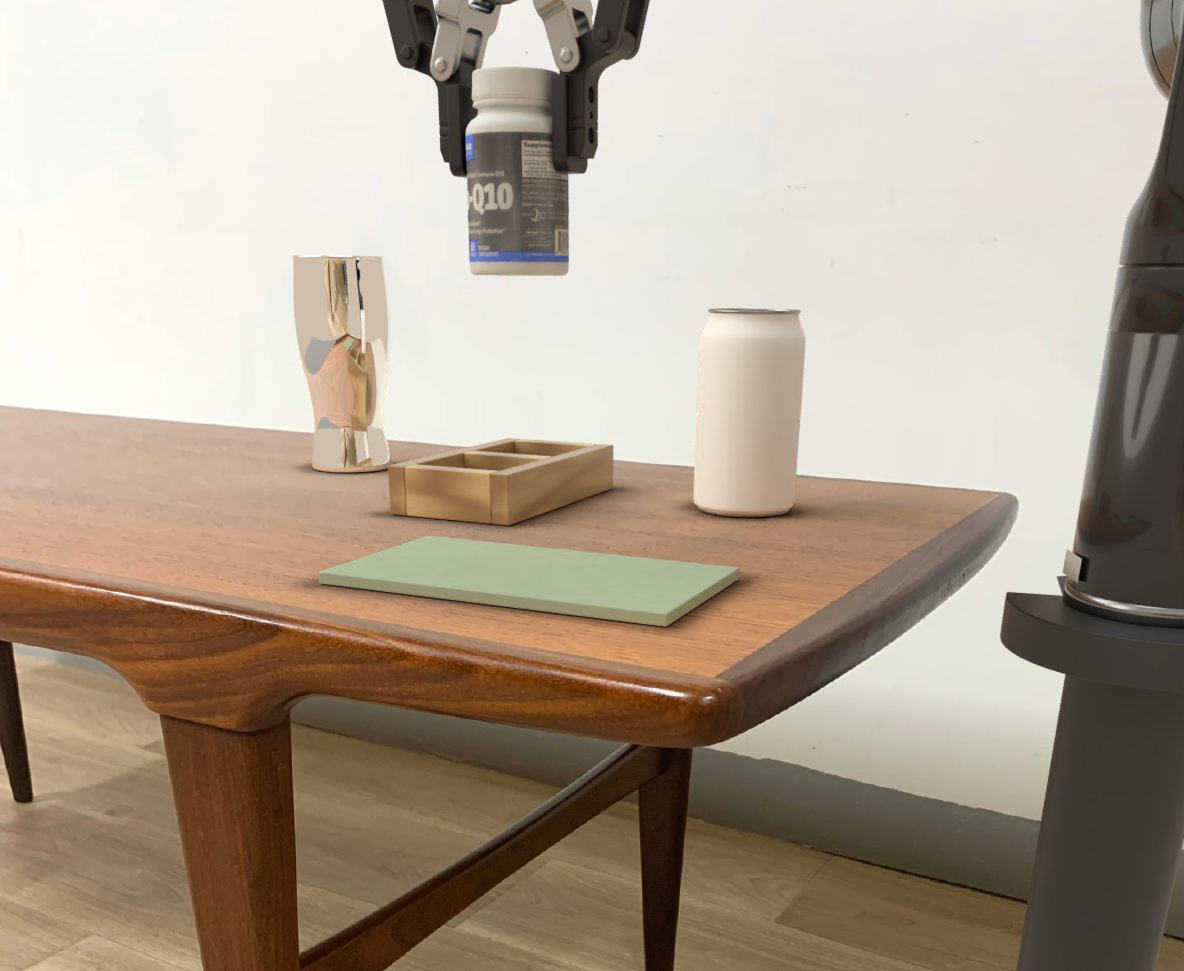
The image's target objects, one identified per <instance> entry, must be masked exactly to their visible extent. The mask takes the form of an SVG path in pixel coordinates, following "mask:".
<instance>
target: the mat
mask: <svg viewBox="0 0 1184 971" xmlns="http://www.w3.org/2000/svg"><path fill="white" fill-rule="evenodd" d="M740 573H741V568H740V567H738V566H728V565H720V564H719V565H717V564H708V563H699V562H691V561H690V562H688V561H679V560H669V559H660V558H652V557H640V556H630V555H621V554H613V553H611V554H610V553H602V552H591V551H582V550H571V549H564V548H553V547H544V546H536V545H535V546H533V545H523V544H513V543H505V542H494V541H487V540H486V541H484V540H477V539H476V540H475V539H468V538H467V539H465V538H458V537H457V538H455V537H446V536H437V535H425V536H422V537H419V538H417V539H414V540H413V539H412V540H410V541H408V542H405V543H401V544H399V545H396V546H393V547H390V548H386V549H383V550H380V551H378V552H374V553H371V554H368V555H365V556H362V557H360V558H359V557H358V558H356V559H353V560H351V561H350V560H349V561H348V562H345V563H342V564H338V565H335V566H332V567H328V568H326V569H322V570H320V571H319V572H318V580H319V581H318V582H319V584H320V585H328V586H335V587H344V588H352V589H353V588H354V589H360V590H361V589H362V590H369V591H377V592H384V593H393V594H401V595H409V596H416V597H424V598H433V599H441V600H448V601H457V602H463V603H464V602H465V603H472V604H480V605H489V606H497V607H505V608H511V609H512V608H513V609H521V610H529V611H536V612H537V611H538V612H545V613H552V614H553V613H554V614H561V615H567V616H577V617H584V618H585V617H586V618H591V619H592V618H593V619H599V620H608V621H609V620H610V621H617V622H624V623H633V624H640V625H641V624H642V625H649V626H657V627H665V628H666V627H668V626H669V625H671V624H673V623H675V621H677V620H679V619H680V618H682V617H684V616H685V615H686V614H688V613H690V612H691V611H693V610H694V609H696V608H697V607H699V606H700V605H702V604H704V603H705V602H706V601H708V600H710V599H711V598H713V597H714V596H715V595H718V593H720V592H722V591H724V590H725V589H726V588H727V587H729V586H732V584H734V583H736V582H737V581H739V579H740Z"/></svg>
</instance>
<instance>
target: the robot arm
mask: <svg viewBox="0 0 1184 971" xmlns="http://www.w3.org/2000/svg"><path fill="white" fill-rule="evenodd" d="M517 1H518V0H471V2H470V4H469V0H435V3H434V0H382V4H383V9H384V13H385V16H386V21H387V25H388V28H389V33H390V37H391V41H392V46H393V49H394V54H395V57H396V60H397V63H398V64H399V65H400V66H401V67H402V68H404V69H408V70H414V71H416V72H418V73H421V74H423V75H426V76H428V77H429V78H431V79H432V81H433V82H434V84H435V86H436V90H437V106H438V126H439V128H438V129H439V131H438V132H439V151H440V154H441V156H442V160H443V163H446V164H448V167H449V171H450V173H451V175H452V176H453V177H456V178H463V179H467V164H466V129H467V126H468V124H469V123H470V121H471V120H473V119H474V118H476V117H477V115H478V109H475V108H473V103H474V102H473V100H472V73H473V71H475V70H477V69H480V68H483V63H484V59H485V54H486V49H487V46H488V41H489V39H490V38H491V36H492V35H494V33H495V32H496V29H497V26H498V23H499V18H500V14H501V10H502V6H504V5H505V6H506V5H511V4H513V3H515V2H517ZM650 1H651V0H597V5H596V8H595V9H596V10H595V14H594V9H593V8H594V6H593V4H592V1H591V0H532V4H533V6H534V9H535V12H536V14H537V16H539V17H540V19H541V21H542V22H543V26H544V29H545V34H546V36H547V39H548V43H549V46H550V50H551V54H552V57H553V61H554V63H555V66H556V68H557V69H558V70H559V71H558V72H559V76H552V157H553V166H554V169H555V171H556V172H559V173H565V174H569V175H584V174H585V173H587V170H588V162H589V161H588V160H593V159H595V156H596V154H597V150H598V146H599V132H598V131H599V122H598V121H599V83H600V82H599V81H600V79H601V76H602V74H603V72H604V71H605V70H606V69H608V68H609V67H611V66H614V65H615V64H617V63H619V62H621V61H622V60H623V61H630V60H632V59H633V58H635V57H636V56H637V55H638V53H639V51H640V47H641V42H642V39H643V33H644V29H645V25H646V20H647V15H648V11H649V5H650ZM593 15H594V19H592V18H593ZM593 20H594V21H593ZM1139 36H1140V46H1141V50H1142V55H1143V59H1144V64H1145V67H1146V69H1147V72H1148V74H1149V76H1150V78H1151V80H1152V83H1153V85H1154V86H1155V88H1156V89H1157V91H1158V92H1159V94H1160V95H1161V96H1162V97H1163V98H1164V99H1165V101H1167V106H1166V112H1165V116H1164V122H1163V127H1162V131H1161V137H1160V141H1159V145H1158V149H1157V153H1156V156H1155V159H1154V162H1153V165H1152V167H1151V170H1150V173H1149V175H1148V177H1147V179H1146V181H1145V184H1144V187H1142V188H1143V189H1142V190H1141V192H1140V194H1139V195H1138V197H1137V198H1136V200H1135V201H1134V203H1133V204H1132V206H1131V208H1130V210H1129V212H1128V213H1127V217H1126V220H1125V224H1124V228H1123V229H1124V230H1123V234H1122V239H1121V247H1120V251H1119V252H1120V253H1119V259H1118V265H1119V267H1117V271H1116V278H1115V284H1114V290H1113V291H1114V292H1113V295H1112V301H1111V302H1112V303H1111V308H1110V315H1109V322H1108V328H1107V329H1108V330H1107V334H1106V340H1105V344H1104V353H1103V358H1102V364H1101V371H1100V375H1099V376H1100V377H1099V383H1098V388H1097V389H1098V390H1097V396H1096V402H1095V408H1094V414H1093V421H1092V426H1091V432H1090V439H1089V445H1088V451H1087V458H1086V464H1085V470H1084V477H1083V482H1082V487H1081V488H1082V489H1081V493H1080V494H1081V496H1080V501H1079V508H1078V513H1077V518H1076V525H1075V532H1074V539H1073V544H1072V551H1070V550H1069V549H1068V548H1066V550H1065V555H1064V560H1063V561H1064V562H1063V567H1062V574H1064V576H1068V578H1067V579H1066V582H1065V588H1064V594H1063V595H1062V596H1063V600H1064V601H1065V603H1067V604H1068V605H1069V606H1071V607H1073V608H1075V609H1077V610H1079V611H1082V612H1085V613H1087V614H1090V615H1094V616H1097V617H1101V618H1105V619H1110V620H1114V621H1119V622H1125V623H1131V624H1138V625H1145V626H1155V627H1166V628H1184V0H1140V13H1139Z"/></svg>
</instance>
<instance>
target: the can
mask: <svg viewBox="0 0 1184 971" xmlns="http://www.w3.org/2000/svg"><path fill="white" fill-rule="evenodd" d="M707 312H708V319H707V321H706V324H705V325H704V327H703V329H702V331H701V334H700V339H699V349H698V350H699V352H698V353H699V354H698V370H697V371H698V372H697V393H696V395H697V396H696V397H697V398H696V420H695V421H696V422H695V441H694V442H695V444H694V447H695V448H694V469H693V470H694V472H693V503H694V505H696V507H697V509H698V510H699V511H700V512H703V513H706V514H710V515H715V516H720V517H731V518H768V517H769V518H770V517H777V516H781V515H785V514H788V512H789V511H790V509H791V508H792V507H793V506H794V504H795V497H796V496H795V494H796V482H797V470H798V468H797V467H798V457H799V442H800V430H801V418H802V416H801V415H802V403H803V402H802V401H803V387H804V373H805V359H806V358H805V357H806V335H805V334H806V333H805V332H804V329H803V326H802V323H801V320H800V314H801V313H802V310H801V309H791V308H754V307H753V308H752V307H751V308H750V307H749V308H747V307H746V308H745V307H741V308H740V307H737V308H736V307H731V308H725V307H724V308H722V307H721V308H708V309H707Z"/></svg>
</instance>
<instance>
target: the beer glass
mask: <svg viewBox="0 0 1184 971" xmlns="http://www.w3.org/2000/svg"><path fill="white" fill-rule="evenodd" d="M291 257H292V303H293V319H294V328H295V338H296V342H297V347H298V352H299V357H300V361H301V366H302V369H303V372H304V373H303V374H304V378H305V382H306V385H307V389H308V394H309V400H310V403H311V407H312V408H311V409H312V415H313V416H312V417H313V430H314V432H313V446H312V454H311V467H312V468H313V469H314V470H316V471H321V472H325V473H326V472H328V473H343V474H344V473H346V474H348V473H349V474H350V473H351V474H353V473H354V474H355V473H370V472H372V473H373V472H378V471H383V470H388V466H389V465H392V464H393V462H392V456H391V453H390V447H389V444H388V443H389V442H388V438H387V433H386V426H385V397H386V387H387V379H388V370H389V359H390V348H391V314H390V301H389V300H390V299H389V292H388V284H387V276H386V270H385V258H384V256H378V255H377V256H376V255H331V254H330V255H324V254H323V255H321V254H320V255H319V254H318V255H316V254H312V255H311V254H309V255H308V254H307V255H306V254H303V255H302V254H301V255H300V254H297V255H292V256H291Z"/></svg>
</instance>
